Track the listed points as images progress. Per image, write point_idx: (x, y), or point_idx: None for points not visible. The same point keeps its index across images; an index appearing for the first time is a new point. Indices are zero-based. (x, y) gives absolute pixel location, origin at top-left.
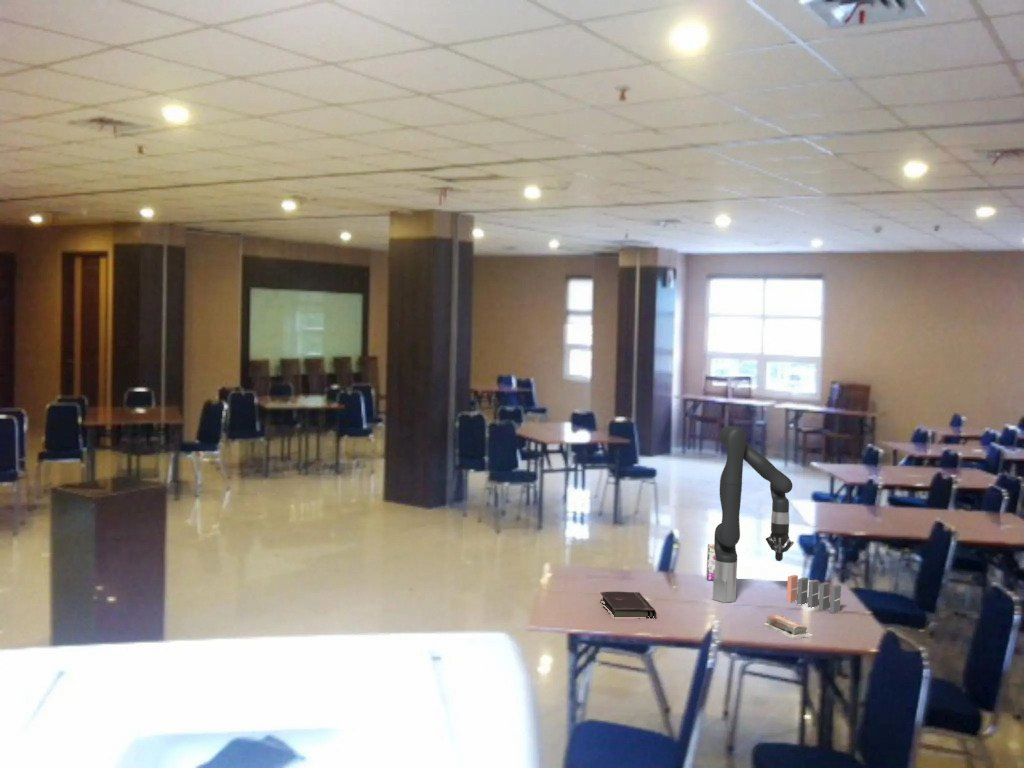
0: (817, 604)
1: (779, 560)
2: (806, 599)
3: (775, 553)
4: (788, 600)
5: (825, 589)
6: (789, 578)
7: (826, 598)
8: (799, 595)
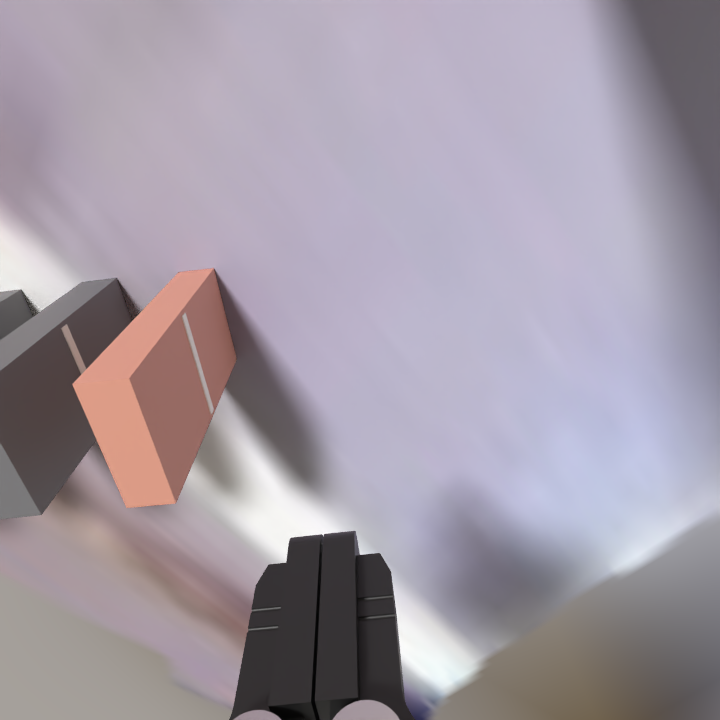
0: None
1: (292, 553)
2: None
3: (395, 668)
4: (193, 274)
5: None
6: (111, 372)
7: None
8: (55, 311)
